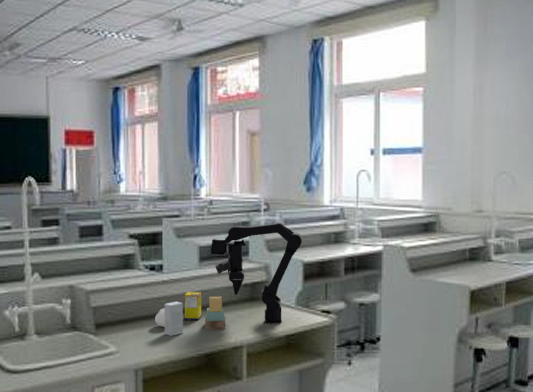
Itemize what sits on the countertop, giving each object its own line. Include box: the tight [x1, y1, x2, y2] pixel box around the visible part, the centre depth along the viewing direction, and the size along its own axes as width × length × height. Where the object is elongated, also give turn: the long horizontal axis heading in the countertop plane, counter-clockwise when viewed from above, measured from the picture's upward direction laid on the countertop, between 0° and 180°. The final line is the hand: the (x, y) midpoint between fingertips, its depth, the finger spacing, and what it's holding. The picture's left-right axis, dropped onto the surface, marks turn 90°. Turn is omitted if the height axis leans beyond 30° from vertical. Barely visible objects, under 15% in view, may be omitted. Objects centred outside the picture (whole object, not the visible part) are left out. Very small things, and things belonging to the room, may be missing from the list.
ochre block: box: [208, 296, 223, 312], centre depth 240 cm, size 5×5×5 cm
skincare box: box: [164, 301, 184, 337], centre depth 230 cm, size 6×4×12 cm
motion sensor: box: [154, 308, 165, 328], centre depth 240 cm, size 8×8×8 cm
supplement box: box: [184, 291, 202, 321], centre depth 253 cm, size 6×6×11 cm
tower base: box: [204, 315, 226, 330], centre depth 241 cm, size 8×8×4 cm
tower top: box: [206, 307, 225, 321], centre depth 241 cm, size 7×7×4 cm
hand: (235, 292), depth 250 cm, fingers open, 9 cm apart
